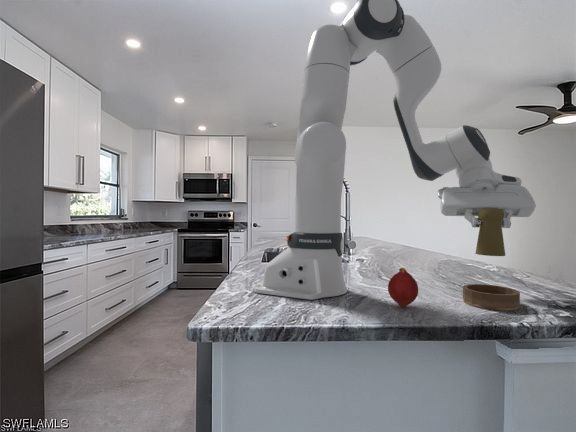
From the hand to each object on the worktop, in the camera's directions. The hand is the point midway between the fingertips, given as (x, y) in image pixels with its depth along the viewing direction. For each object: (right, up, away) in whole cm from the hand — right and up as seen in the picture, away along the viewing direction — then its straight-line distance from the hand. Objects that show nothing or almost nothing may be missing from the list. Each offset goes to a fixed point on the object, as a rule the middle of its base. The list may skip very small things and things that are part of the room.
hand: (491, 226), depth 76 cm
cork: (0, -7, +1) cm, 7 cm away
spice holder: (-5, -16, -8) cm, 19 cm away
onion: (-24, -16, -10) cm, 31 cm away
